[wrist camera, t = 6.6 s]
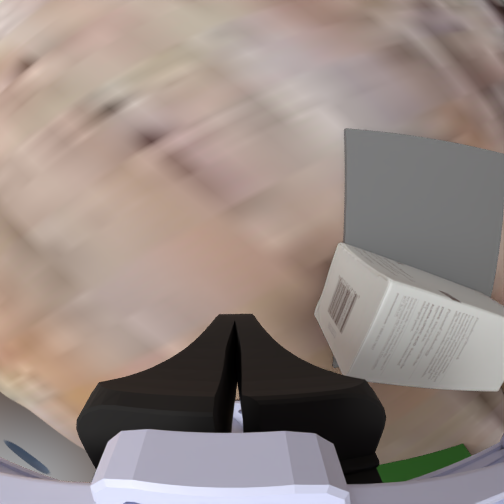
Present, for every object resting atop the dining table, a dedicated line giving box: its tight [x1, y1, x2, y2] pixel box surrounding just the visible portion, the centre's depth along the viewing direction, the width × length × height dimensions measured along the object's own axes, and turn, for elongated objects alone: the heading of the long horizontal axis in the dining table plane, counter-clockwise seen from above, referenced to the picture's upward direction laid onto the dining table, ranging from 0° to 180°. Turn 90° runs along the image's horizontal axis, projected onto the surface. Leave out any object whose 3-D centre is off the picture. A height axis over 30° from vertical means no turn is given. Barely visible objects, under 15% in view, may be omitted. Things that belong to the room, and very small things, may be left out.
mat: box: [333, 128, 504, 368], centre depth 22 cm, size 18×16×1 cm
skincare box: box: [314, 242, 504, 391], centre depth 18 cm, size 8×6×15 cm
